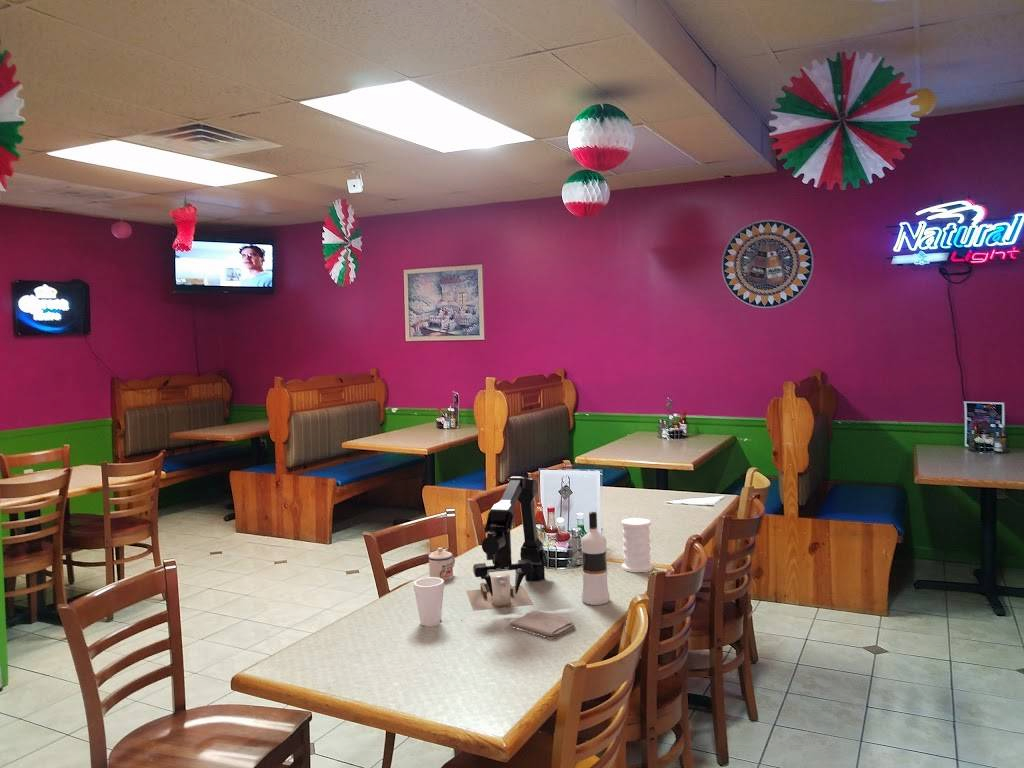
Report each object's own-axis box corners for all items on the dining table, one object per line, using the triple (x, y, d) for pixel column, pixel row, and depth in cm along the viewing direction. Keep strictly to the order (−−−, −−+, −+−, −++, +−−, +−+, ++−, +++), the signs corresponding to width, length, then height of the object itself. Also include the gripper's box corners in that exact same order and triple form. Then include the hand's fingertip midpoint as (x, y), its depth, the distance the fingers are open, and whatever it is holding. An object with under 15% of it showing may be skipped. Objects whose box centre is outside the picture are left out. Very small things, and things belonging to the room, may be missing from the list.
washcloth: (553, 642, 221) (553, 632, 221) (507, 628, 233) (507, 619, 233) (577, 629, 230) (577, 619, 230) (532, 617, 242) (531, 607, 242)
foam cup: (450, 618, 242) (448, 578, 241) (438, 629, 233) (436, 587, 232) (423, 615, 245) (421, 576, 244) (410, 626, 236) (408, 585, 236)
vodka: (577, 599, 255) (574, 510, 253) (601, 594, 258) (599, 507, 257) (589, 607, 247) (586, 516, 245) (614, 603, 250) (611, 513, 248)
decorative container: (643, 562, 294) (642, 516, 293) (658, 570, 283) (657, 522, 282) (616, 566, 290) (615, 519, 289) (630, 574, 279) (629, 526, 278)
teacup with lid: (442, 584, 276) (440, 552, 276) (424, 580, 282) (422, 549, 281) (463, 575, 286) (462, 544, 285) (446, 571, 291) (444, 541, 291)
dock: (522, 588, 269) (522, 578, 268) (533, 607, 249) (533, 596, 249) (466, 593, 265) (465, 583, 265) (473, 613, 245) (472, 602, 245)
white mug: (490, 600, 255) (489, 573, 254) (508, 598, 256) (507, 571, 255) (494, 610, 245) (493, 582, 245) (514, 608, 246) (513, 580, 246)
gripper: (525, 537, 254) (527, 583, 255) (470, 542, 250) (472, 589, 251) (532, 546, 243) (534, 594, 244) (474, 551, 239) (476, 600, 240)
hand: (503, 594), depth 245 cm, fingers open, 8 cm apart
